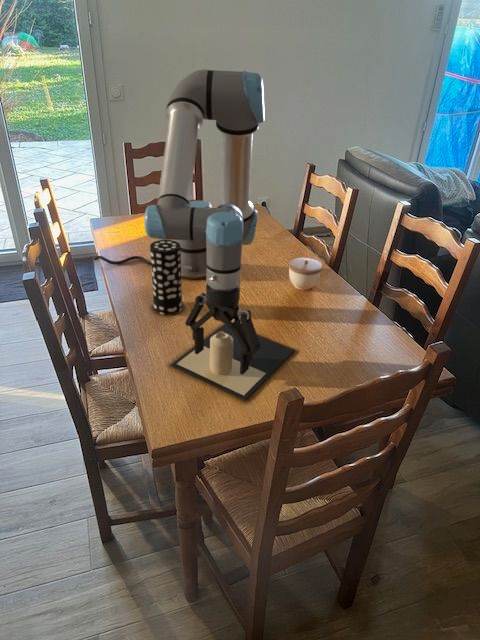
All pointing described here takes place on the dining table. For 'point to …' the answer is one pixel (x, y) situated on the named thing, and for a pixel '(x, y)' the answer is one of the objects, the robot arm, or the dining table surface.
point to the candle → (221, 353)
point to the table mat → (235, 365)
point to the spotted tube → (166, 276)
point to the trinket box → (304, 272)
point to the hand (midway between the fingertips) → (221, 361)
